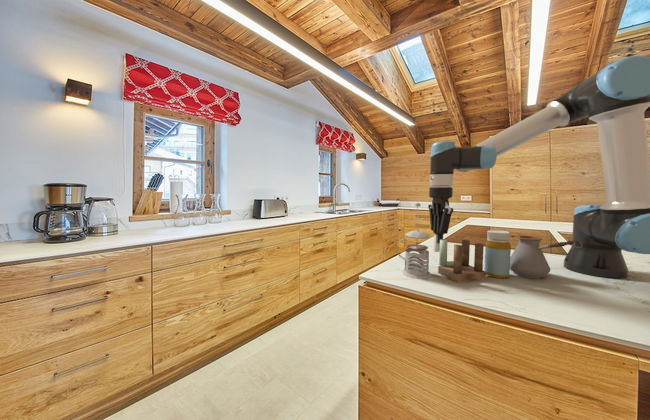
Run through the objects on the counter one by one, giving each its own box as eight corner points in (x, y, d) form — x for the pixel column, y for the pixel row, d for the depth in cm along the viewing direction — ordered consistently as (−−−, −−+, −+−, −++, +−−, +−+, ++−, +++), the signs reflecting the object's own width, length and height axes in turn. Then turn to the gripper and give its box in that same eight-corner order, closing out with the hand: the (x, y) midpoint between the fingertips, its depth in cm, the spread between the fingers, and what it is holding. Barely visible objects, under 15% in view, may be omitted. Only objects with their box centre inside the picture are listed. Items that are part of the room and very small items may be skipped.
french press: (433, 280, 80) (434, 203, 77) (396, 276, 83) (396, 203, 81) (430, 270, 89) (431, 201, 87) (397, 267, 93) (397, 201, 90)
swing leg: (459, 264, 87) (460, 239, 86) (462, 266, 84) (463, 240, 84) (438, 263, 88) (438, 239, 87) (440, 266, 85) (441, 240, 84)
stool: (465, 270, 88) (466, 239, 87) (486, 279, 79) (487, 244, 78) (438, 272, 86) (438, 240, 85) (456, 282, 77) (457, 246, 76)
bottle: (500, 271, 86) (503, 229, 85) (514, 279, 79) (516, 233, 78) (480, 271, 87) (481, 229, 86) (491, 278, 80) (493, 233, 79)
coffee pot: (498, 269, 89) (500, 228, 88) (528, 268, 89) (531, 227, 88) (556, 294, 68) (559, 241, 66) (595, 293, 68) (600, 240, 67)
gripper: (422, 186, 93) (420, 246, 96) (440, 187, 80) (436, 256, 83) (441, 186, 93) (438, 246, 96) (462, 187, 81) (458, 256, 83)
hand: (437, 251), depth 90 cm, fingers closed
